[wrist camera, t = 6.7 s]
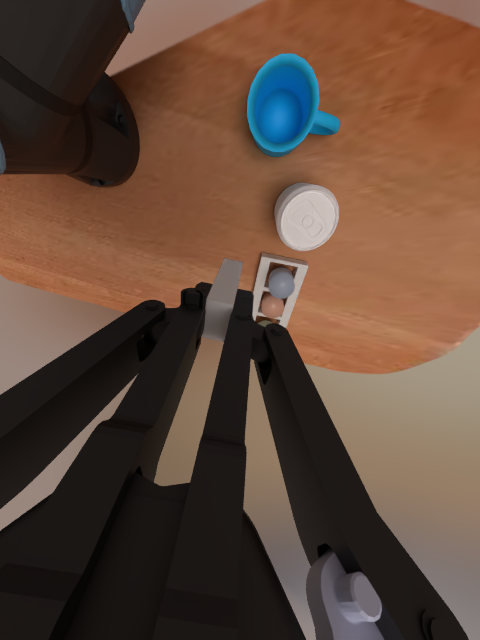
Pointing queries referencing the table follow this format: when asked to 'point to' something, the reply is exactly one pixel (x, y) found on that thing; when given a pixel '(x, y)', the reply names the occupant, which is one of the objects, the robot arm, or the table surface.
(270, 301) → the button terracotta
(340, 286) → the table surface
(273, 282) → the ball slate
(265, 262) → the three-ball tray
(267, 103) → the mug
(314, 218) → the beverage can
